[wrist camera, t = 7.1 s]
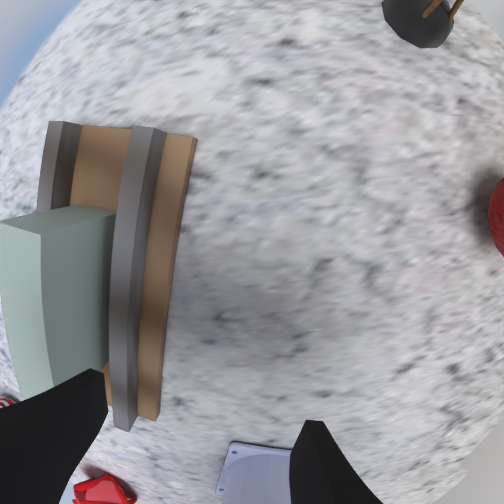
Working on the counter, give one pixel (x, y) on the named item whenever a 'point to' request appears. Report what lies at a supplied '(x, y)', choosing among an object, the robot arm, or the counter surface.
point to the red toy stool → (100, 492)
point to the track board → (126, 240)
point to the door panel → (56, 293)
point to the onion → (497, 215)
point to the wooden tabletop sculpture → (421, 20)
